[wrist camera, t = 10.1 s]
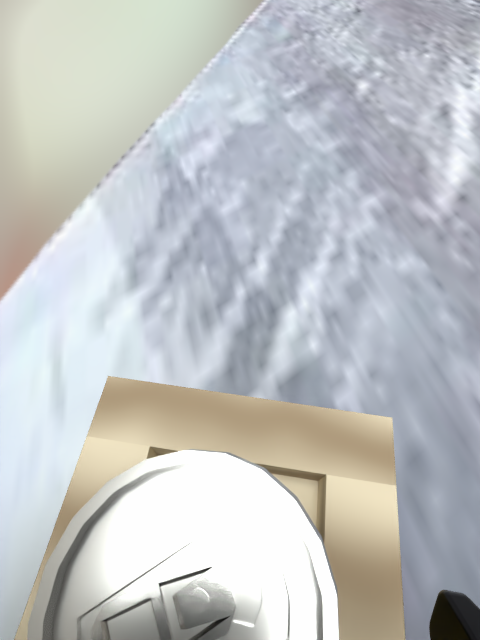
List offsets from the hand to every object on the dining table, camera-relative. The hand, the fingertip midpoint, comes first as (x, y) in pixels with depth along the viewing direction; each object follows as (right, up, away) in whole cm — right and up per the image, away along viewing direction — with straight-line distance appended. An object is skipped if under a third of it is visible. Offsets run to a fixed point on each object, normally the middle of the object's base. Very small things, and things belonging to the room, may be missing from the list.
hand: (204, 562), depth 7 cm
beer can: (0, -6, +9) cm, 11 cm away
